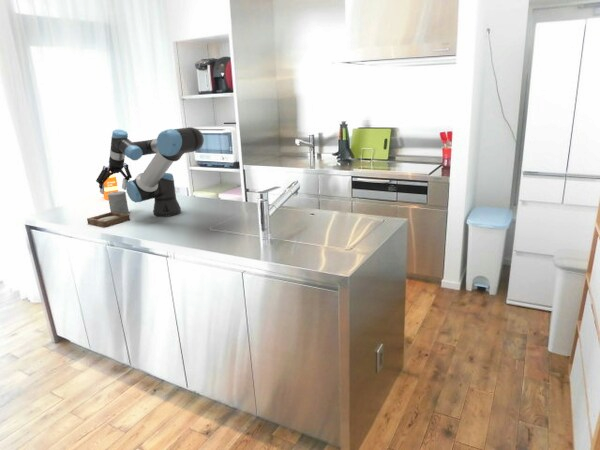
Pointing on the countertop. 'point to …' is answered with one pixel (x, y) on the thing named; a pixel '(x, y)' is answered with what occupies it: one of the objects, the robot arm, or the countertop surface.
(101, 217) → the walnut seat tray
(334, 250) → the countertop surface
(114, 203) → the speckled white cylinder
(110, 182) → the orange juice
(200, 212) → the countertop surface
